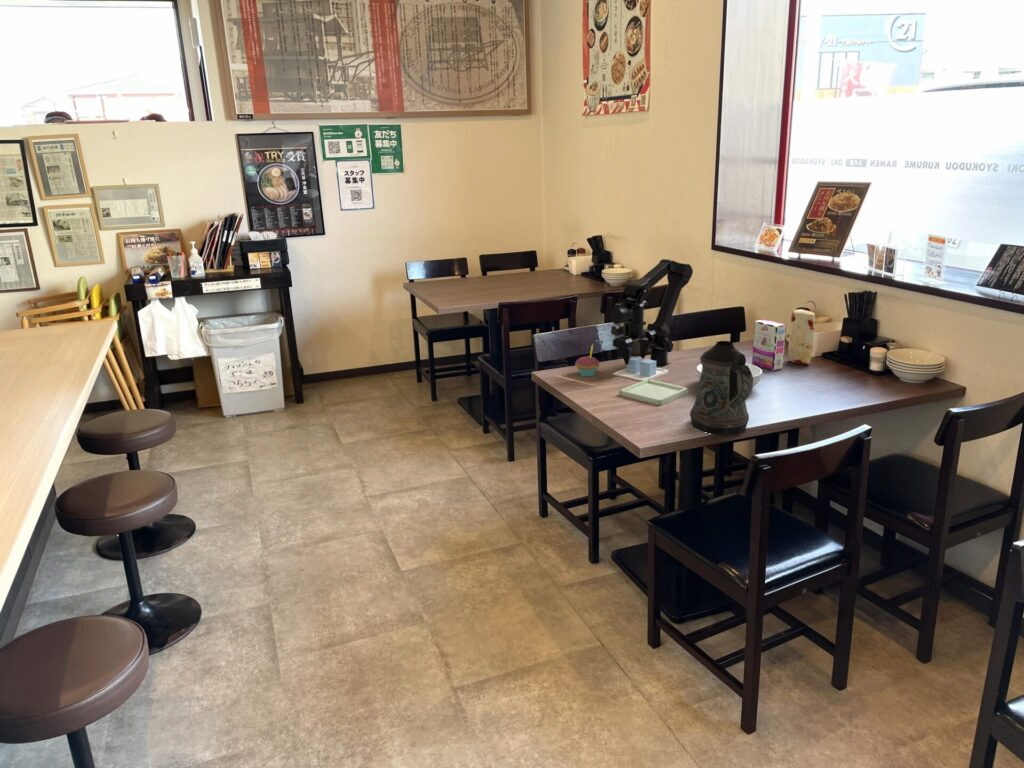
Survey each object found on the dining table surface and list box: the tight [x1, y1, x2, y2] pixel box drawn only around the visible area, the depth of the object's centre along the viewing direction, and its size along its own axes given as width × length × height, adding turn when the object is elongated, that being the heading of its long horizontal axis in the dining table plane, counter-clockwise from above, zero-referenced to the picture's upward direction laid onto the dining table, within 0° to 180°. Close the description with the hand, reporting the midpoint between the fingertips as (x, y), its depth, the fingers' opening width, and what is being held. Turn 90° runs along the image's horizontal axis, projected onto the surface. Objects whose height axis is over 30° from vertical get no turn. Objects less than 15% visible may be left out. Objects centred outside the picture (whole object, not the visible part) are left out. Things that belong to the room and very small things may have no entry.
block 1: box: [625, 355, 643, 374], centre depth 268 cm, size 4×4×5 cm
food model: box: [787, 308, 816, 366], centre depth 271 cm, size 10×7×20 cm
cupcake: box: [574, 343, 600, 377], centre depth 266 cm, size 9×8×12 cm
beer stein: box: [689, 340, 754, 436], centre depth 213 cm, size 16×19×25 cm
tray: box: [618, 379, 689, 407], centre depth 246 cm, size 16×16×2 cm
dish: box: [612, 367, 670, 382], centre depth 267 cm, size 15×13×1 cm
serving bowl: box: [696, 362, 763, 388], centre depth 249 cm, size 21×21×7 cm
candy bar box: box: [751, 319, 787, 372], centre depth 269 cm, size 11×5×16 cm, turn 25°
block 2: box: [640, 358, 657, 377], centre depth 264 cm, size 4×4×5 cm
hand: (634, 361), depth 268 cm, fingers open, 9 cm apart
